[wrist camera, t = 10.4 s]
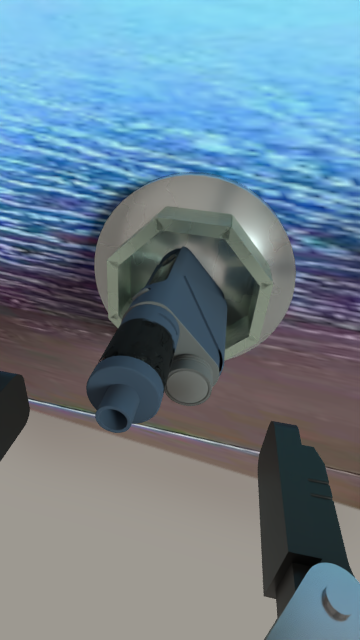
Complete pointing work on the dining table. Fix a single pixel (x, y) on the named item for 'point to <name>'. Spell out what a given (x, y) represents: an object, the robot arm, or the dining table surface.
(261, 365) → the dining table surface
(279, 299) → the ring seat
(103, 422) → the vaping device
